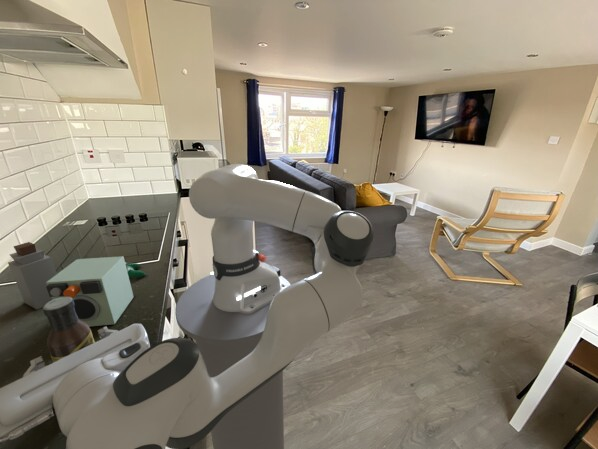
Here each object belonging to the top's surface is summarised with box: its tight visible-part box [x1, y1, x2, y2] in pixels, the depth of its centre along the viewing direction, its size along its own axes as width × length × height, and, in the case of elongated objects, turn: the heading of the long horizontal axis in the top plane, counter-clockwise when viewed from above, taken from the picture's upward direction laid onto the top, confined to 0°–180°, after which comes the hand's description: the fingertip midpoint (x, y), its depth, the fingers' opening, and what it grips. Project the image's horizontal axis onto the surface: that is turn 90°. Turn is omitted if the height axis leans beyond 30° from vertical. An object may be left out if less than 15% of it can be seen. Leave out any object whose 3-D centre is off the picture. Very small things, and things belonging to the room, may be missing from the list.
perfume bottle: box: [7, 241, 58, 310], centre depth 75 cm, size 7×7×18 cm
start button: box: [63, 285, 80, 298], centre depth 62 cm, size 2×2×2 cm
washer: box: [46, 255, 134, 328], centre depth 70 cm, size 14×12×14 cm
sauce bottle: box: [42, 297, 96, 363], centre depth 49 cm, size 6×6×20 cm
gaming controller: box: [125, 262, 146, 278], centre depth 92 cm, size 9×4×6 cm
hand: (72, 344), depth 48 cm, fingers open, 8 cm apart
